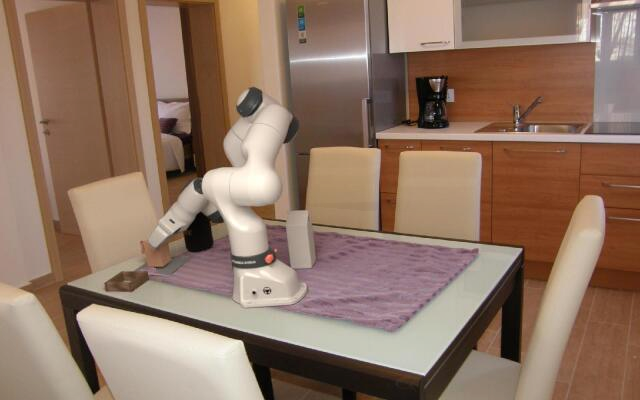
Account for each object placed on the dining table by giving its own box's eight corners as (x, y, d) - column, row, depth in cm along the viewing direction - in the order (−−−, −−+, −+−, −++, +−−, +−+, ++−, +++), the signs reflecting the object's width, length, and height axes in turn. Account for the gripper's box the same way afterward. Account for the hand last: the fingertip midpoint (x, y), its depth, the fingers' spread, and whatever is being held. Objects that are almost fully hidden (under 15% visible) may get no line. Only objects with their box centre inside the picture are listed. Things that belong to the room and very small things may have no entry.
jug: (171, 260, 208) (167, 236, 206) (162, 266, 202) (158, 242, 200) (149, 260, 210) (144, 237, 208) (140, 266, 205) (135, 242, 203)
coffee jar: (185, 246, 227) (177, 202, 222) (212, 241, 230) (205, 197, 225) (187, 254, 217) (179, 208, 212) (215, 249, 220) (208, 203, 215)
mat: (190, 259, 212) (190, 258, 212) (169, 276, 197) (169, 275, 197) (152, 259, 216) (151, 258, 216) (128, 276, 201) (127, 274, 201)
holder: (149, 279, 196) (147, 271, 195) (132, 291, 186) (131, 283, 185) (123, 279, 198) (121, 271, 197) (106, 291, 189) (104, 283, 188)
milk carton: (311, 268, 190) (305, 213, 185) (290, 269, 192) (284, 214, 187) (316, 260, 197) (310, 207, 192) (296, 261, 198) (289, 208, 194)
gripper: (185, 204, 209) (166, 230, 214) (156, 221, 190) (136, 249, 195) (199, 215, 209) (179, 241, 214) (171, 233, 190) (150, 261, 195)
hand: (158, 245), depth 204 cm, fingers closed on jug, 6 cm apart
